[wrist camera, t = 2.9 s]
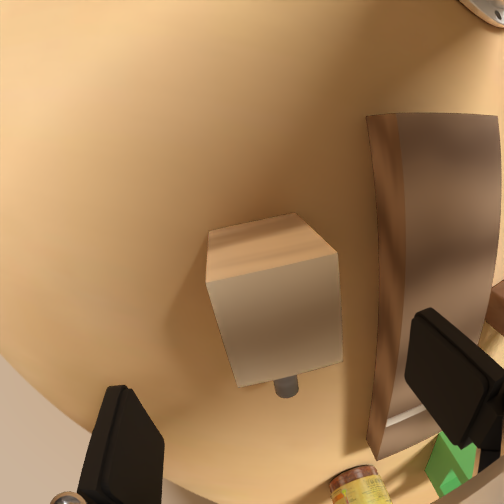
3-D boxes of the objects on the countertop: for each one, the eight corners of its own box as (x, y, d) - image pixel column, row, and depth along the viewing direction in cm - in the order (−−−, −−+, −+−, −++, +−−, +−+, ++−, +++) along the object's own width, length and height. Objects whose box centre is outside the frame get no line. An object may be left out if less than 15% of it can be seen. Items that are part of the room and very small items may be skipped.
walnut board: (365, 116, 14) (397, 113, 11) (465, 114, 14) (498, 116, 12) (366, 439, 24) (376, 462, 21) (432, 410, 24) (445, 429, 22)
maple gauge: (208, 230, 15) (205, 282, 10) (294, 212, 16) (337, 252, 10) (247, 374, 19) (258, 446, 13) (313, 358, 19) (342, 425, 14)
